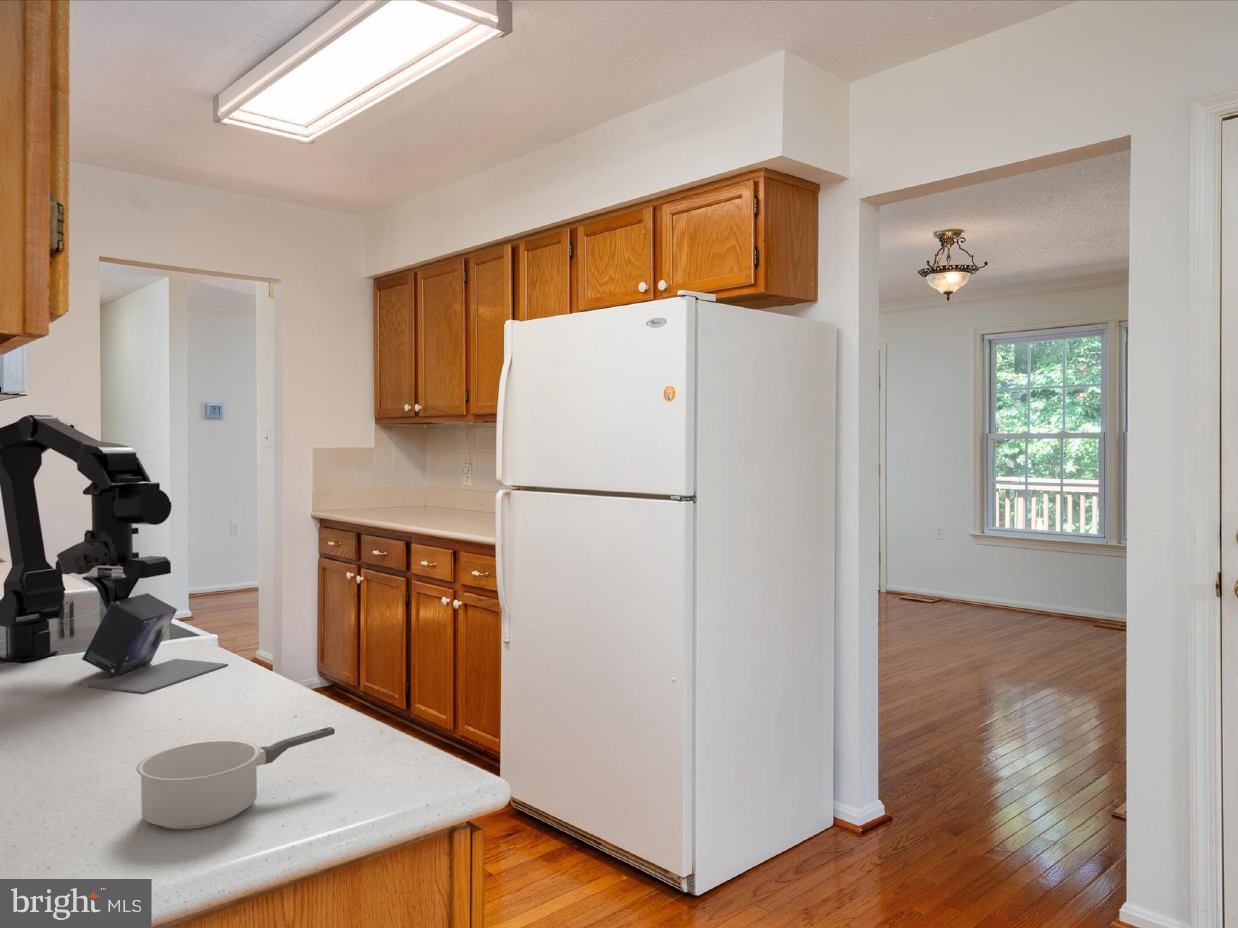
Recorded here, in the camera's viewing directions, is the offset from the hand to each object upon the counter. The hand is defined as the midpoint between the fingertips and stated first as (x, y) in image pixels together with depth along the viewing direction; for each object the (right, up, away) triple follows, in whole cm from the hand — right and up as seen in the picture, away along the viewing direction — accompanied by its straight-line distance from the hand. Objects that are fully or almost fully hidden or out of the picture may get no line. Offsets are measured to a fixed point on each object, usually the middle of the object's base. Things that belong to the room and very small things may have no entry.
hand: (114, 617), depth 143 cm
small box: (0, -8, 0) cm, 8 cm away
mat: (+9, -9, -3) cm, 13 cm away
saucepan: (+43, -11, -50) cm, 67 cm away
